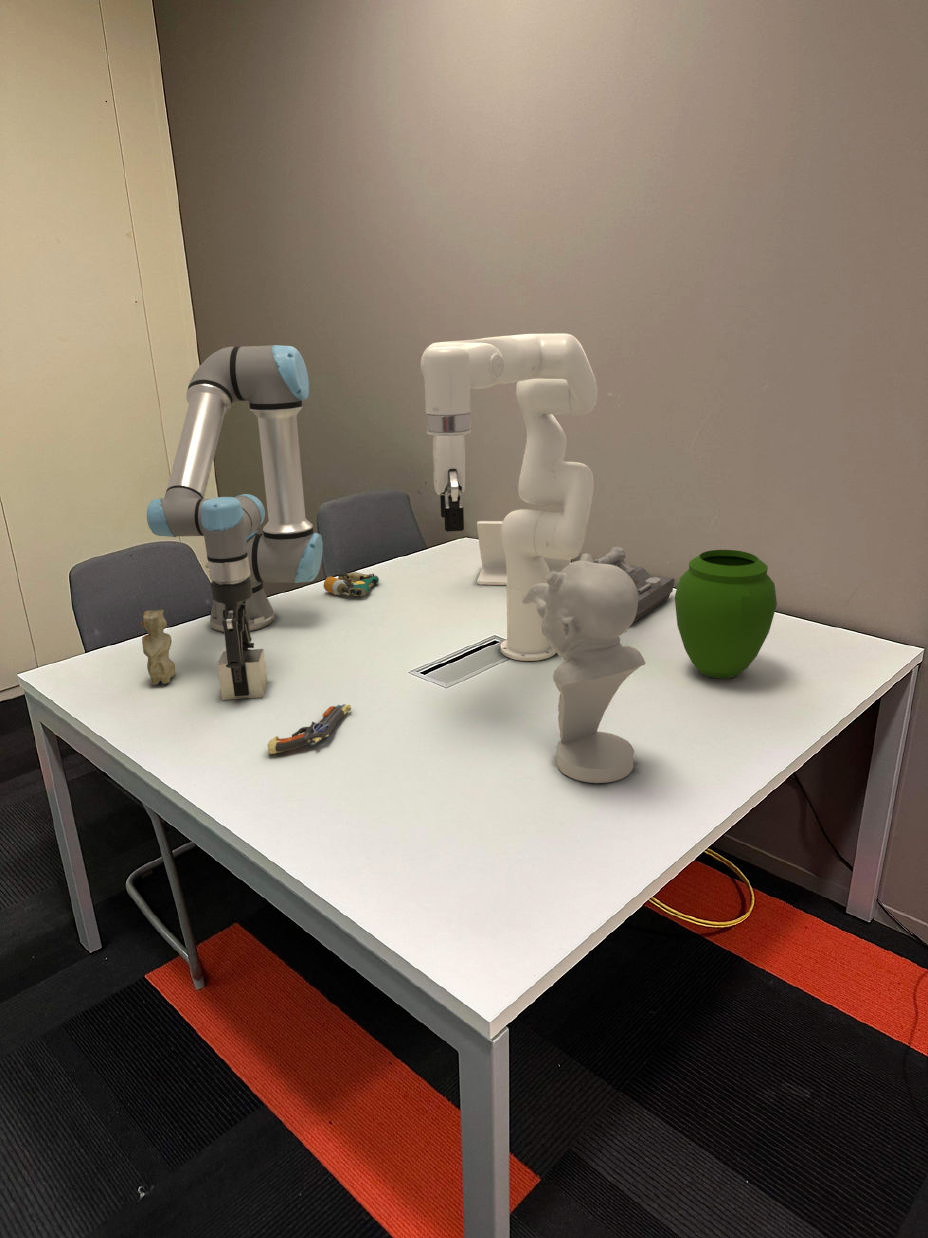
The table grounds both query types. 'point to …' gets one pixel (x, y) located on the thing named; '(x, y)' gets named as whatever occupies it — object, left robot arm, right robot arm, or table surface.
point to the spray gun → (350, 583)
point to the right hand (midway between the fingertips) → (452, 523)
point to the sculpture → (157, 647)
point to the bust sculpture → (589, 662)
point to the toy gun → (310, 731)
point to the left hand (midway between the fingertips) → (244, 686)
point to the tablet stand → (501, 555)
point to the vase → (724, 611)
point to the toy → (641, 582)
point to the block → (253, 670)
